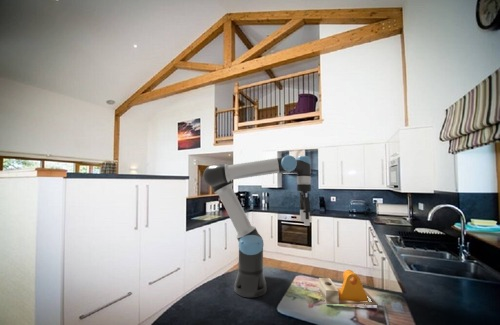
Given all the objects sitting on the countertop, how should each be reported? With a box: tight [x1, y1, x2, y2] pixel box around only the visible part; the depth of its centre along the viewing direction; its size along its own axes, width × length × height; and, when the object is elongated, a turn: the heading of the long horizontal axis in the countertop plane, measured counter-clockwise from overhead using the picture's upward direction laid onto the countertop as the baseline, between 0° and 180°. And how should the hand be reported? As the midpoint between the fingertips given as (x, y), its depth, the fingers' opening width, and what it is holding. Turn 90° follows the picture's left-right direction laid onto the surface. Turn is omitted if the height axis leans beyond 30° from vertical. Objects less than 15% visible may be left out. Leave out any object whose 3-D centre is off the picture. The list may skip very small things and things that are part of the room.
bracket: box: [338, 269, 369, 302], centre depth 89 cm, size 11×7×12 cm, turn 85°
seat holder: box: [318, 277, 379, 306], centre depth 89 cm, size 20×12×6 cm, turn 85°
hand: (304, 223), depth 111 cm, fingers open, 13 cm apart
